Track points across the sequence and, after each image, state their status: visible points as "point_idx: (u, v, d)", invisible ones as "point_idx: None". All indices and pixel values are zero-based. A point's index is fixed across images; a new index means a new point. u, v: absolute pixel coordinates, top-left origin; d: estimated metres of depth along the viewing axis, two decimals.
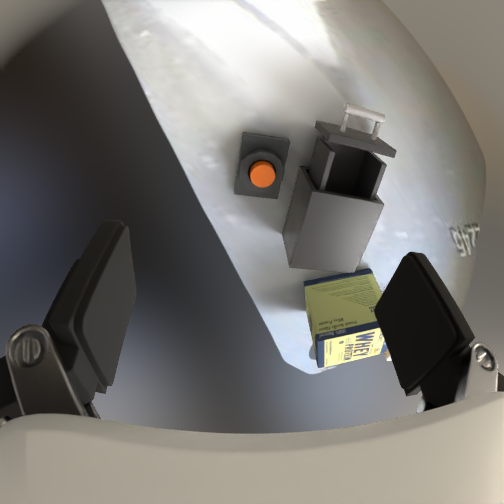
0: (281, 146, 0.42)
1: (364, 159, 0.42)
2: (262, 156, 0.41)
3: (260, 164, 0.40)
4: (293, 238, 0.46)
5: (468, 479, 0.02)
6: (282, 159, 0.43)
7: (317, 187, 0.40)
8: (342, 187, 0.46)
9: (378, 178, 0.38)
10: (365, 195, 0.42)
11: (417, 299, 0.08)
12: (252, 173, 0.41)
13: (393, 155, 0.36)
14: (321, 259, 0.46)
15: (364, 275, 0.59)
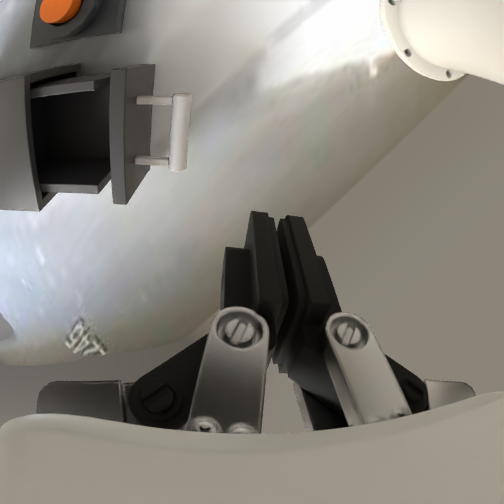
0: (106, 22, 0.17)
1: (106, 158, 0.24)
2: None
3: None
4: None
5: (468, 479, 0.02)
6: (86, 30, 0.17)
7: (36, 87, 0.15)
8: (58, 138, 0.22)
9: (73, 186, 0.20)
10: (47, 176, 0.20)
11: (282, 263, 0.08)
12: None
13: (116, 201, 0.21)
14: None
15: None
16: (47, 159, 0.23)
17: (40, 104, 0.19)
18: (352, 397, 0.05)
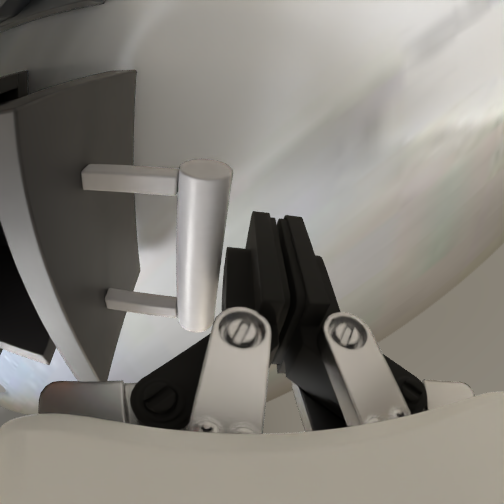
0: None
1: None
2: None
3: None
4: None
5: (468, 479, 0.02)
6: (33, 3, 0.06)
7: None
8: None
9: (5, 344, 0.08)
10: None
11: None
12: None
13: None
14: None
15: None
16: None
17: None
18: (350, 398, 0.05)
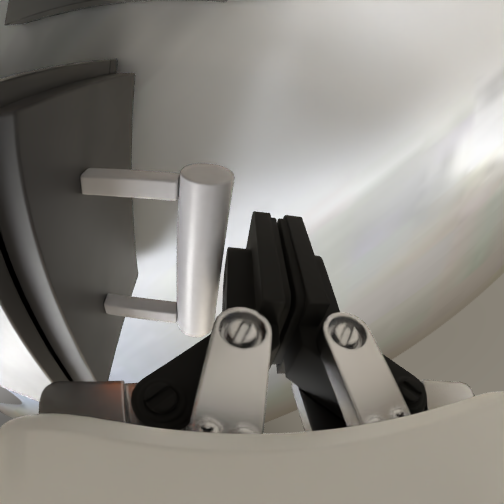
0: None
1: None
2: None
3: None
4: None
5: (468, 479, 0.02)
6: None
7: None
8: None
9: None
10: None
11: None
12: None
13: None
14: None
15: None
16: None
17: None
18: (349, 398, 0.05)
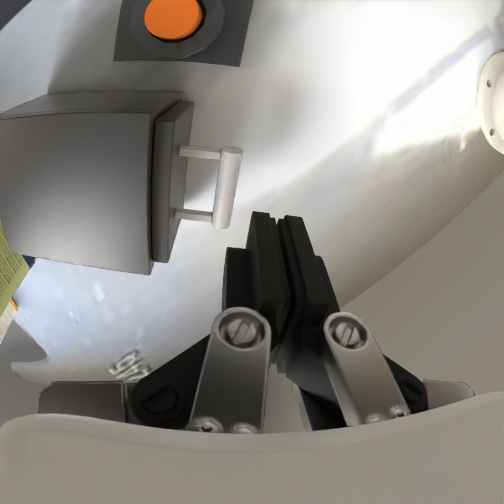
0: (229, 51, 0.18)
1: None
2: (213, 13, 0.14)
3: (198, 7, 0.13)
4: (36, 108, 0.14)
5: (468, 479, 0.02)
6: (200, 55, 0.18)
7: None
8: None
9: None
10: None
11: None
12: None
13: (157, 259, 0.21)
14: (8, 181, 0.15)
15: (22, 258, 0.28)
16: None
17: None
18: (350, 398, 0.05)
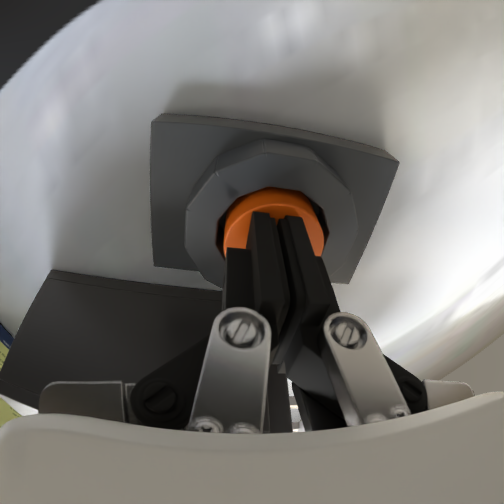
0: None
1: None
2: (339, 238, 0.11)
3: None
4: (66, 376, 0.11)
5: (468, 479, 0.02)
6: None
7: None
8: None
9: None
10: None
11: None
12: (291, 212, 0.09)
13: None
14: None
15: None
16: None
17: None
18: (350, 397, 0.05)
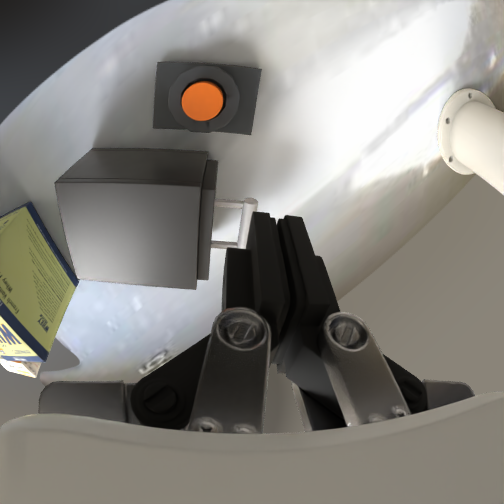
0: (243, 123, 0.27)
1: None
2: (231, 98, 0.24)
3: (222, 96, 0.23)
4: (101, 172, 0.23)
5: (468, 479, 0.02)
6: (221, 126, 0.27)
7: None
8: None
9: None
10: None
11: None
12: (206, 85, 0.22)
13: (200, 278, 0.30)
14: (82, 227, 0.24)
15: (69, 279, 0.37)
16: None
17: None
18: (350, 398, 0.05)
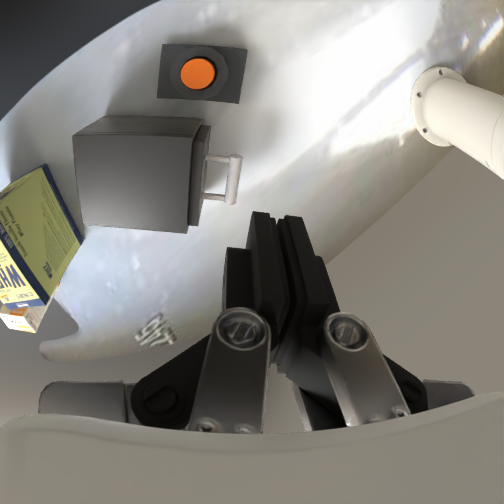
0: (231, 94, 0.31)
1: None
2: (221, 71, 0.28)
3: (213, 69, 0.27)
4: (112, 128, 0.27)
5: (468, 479, 0.02)
6: (214, 96, 0.31)
7: None
8: None
9: None
10: None
11: None
12: (201, 60, 0.25)
13: (191, 223, 0.34)
14: (92, 174, 0.28)
15: (75, 236, 0.42)
16: None
17: None
18: (350, 398, 0.05)
